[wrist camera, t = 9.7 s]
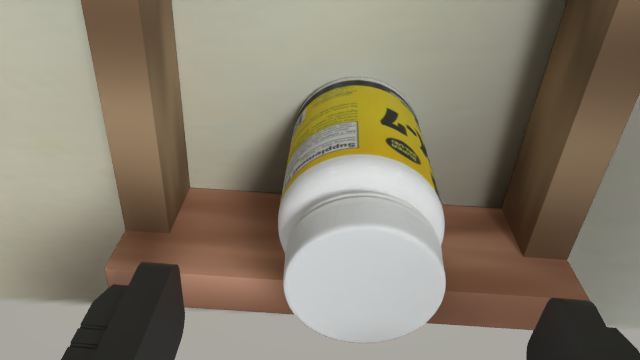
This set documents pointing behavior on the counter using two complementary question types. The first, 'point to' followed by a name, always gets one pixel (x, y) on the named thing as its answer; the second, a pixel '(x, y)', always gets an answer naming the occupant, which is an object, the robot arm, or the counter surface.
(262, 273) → the guide channel
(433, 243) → the supplement bottle
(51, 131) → the counter surface
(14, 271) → the counter surface
